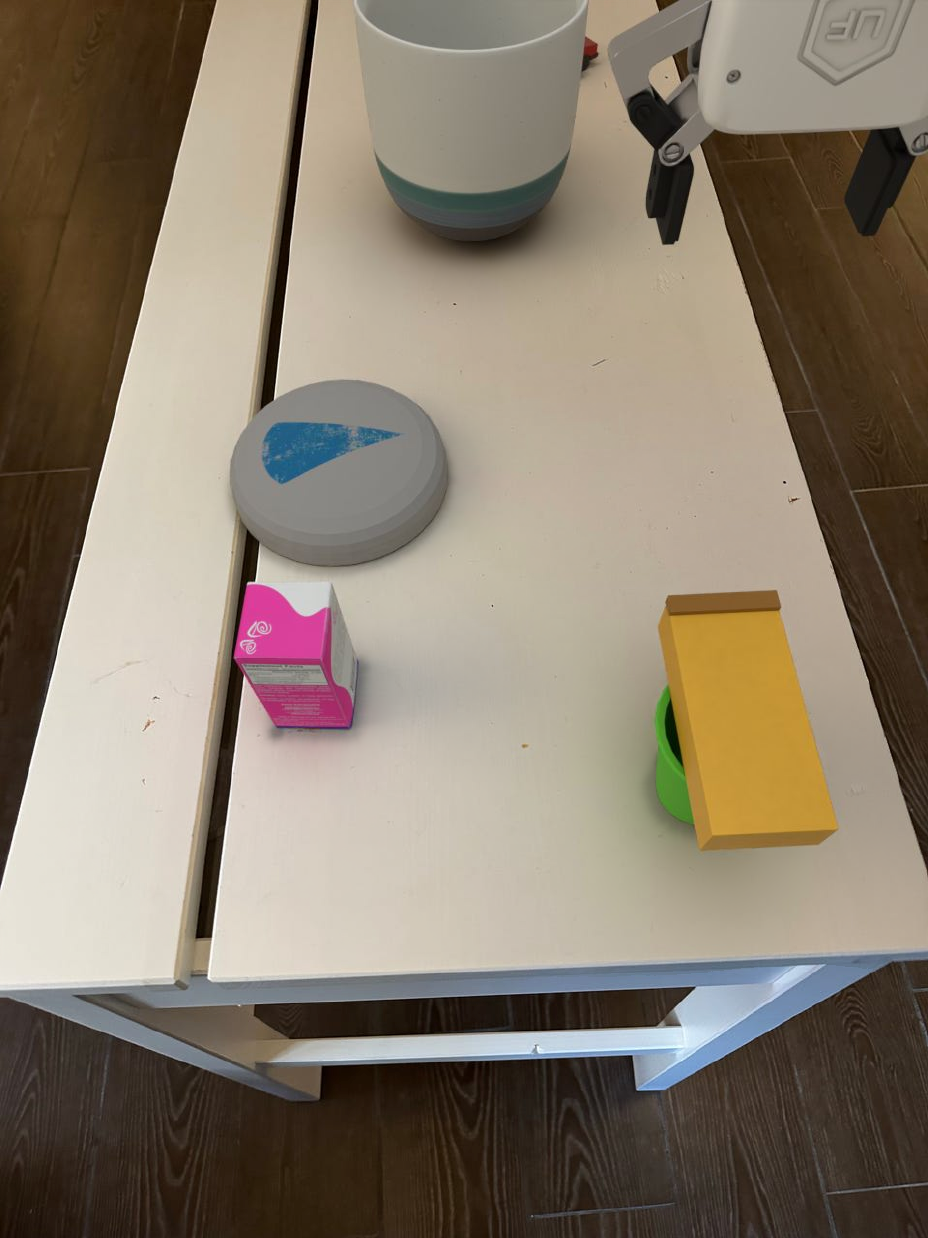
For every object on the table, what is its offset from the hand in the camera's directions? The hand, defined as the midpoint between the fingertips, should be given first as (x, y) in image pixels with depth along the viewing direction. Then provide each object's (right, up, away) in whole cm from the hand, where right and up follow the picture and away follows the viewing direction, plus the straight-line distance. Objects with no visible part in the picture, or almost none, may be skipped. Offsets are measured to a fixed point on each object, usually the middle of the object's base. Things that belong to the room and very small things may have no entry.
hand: (761, 222), depth 42 cm
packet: (+1, -26, +7) cm, 27 cm away
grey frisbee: (-25, -8, +31) cm, 41 cm away
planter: (-14, +24, +49) cm, 56 cm away
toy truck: (-4, +49, +64) cm, 80 cm away
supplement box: (-26, -25, +21) cm, 42 cm away
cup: (+1, -32, +17) cm, 36 cm away
